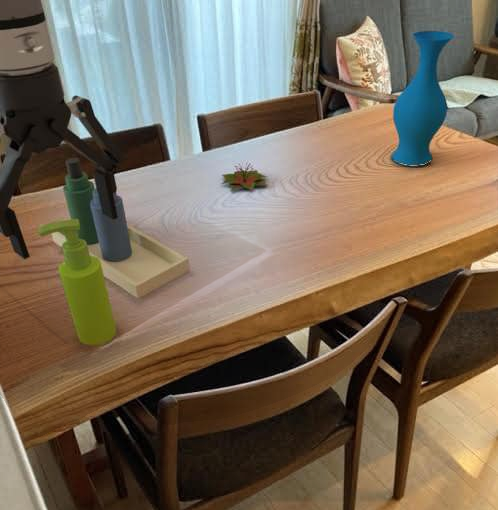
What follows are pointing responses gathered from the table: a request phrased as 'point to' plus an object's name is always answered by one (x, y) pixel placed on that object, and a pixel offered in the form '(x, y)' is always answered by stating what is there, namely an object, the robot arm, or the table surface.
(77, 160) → the green bottle
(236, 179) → the lily flower
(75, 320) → the soap dispenser
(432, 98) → the vase
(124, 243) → the smoky-blue bottle
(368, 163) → the table surface
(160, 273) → the tray
